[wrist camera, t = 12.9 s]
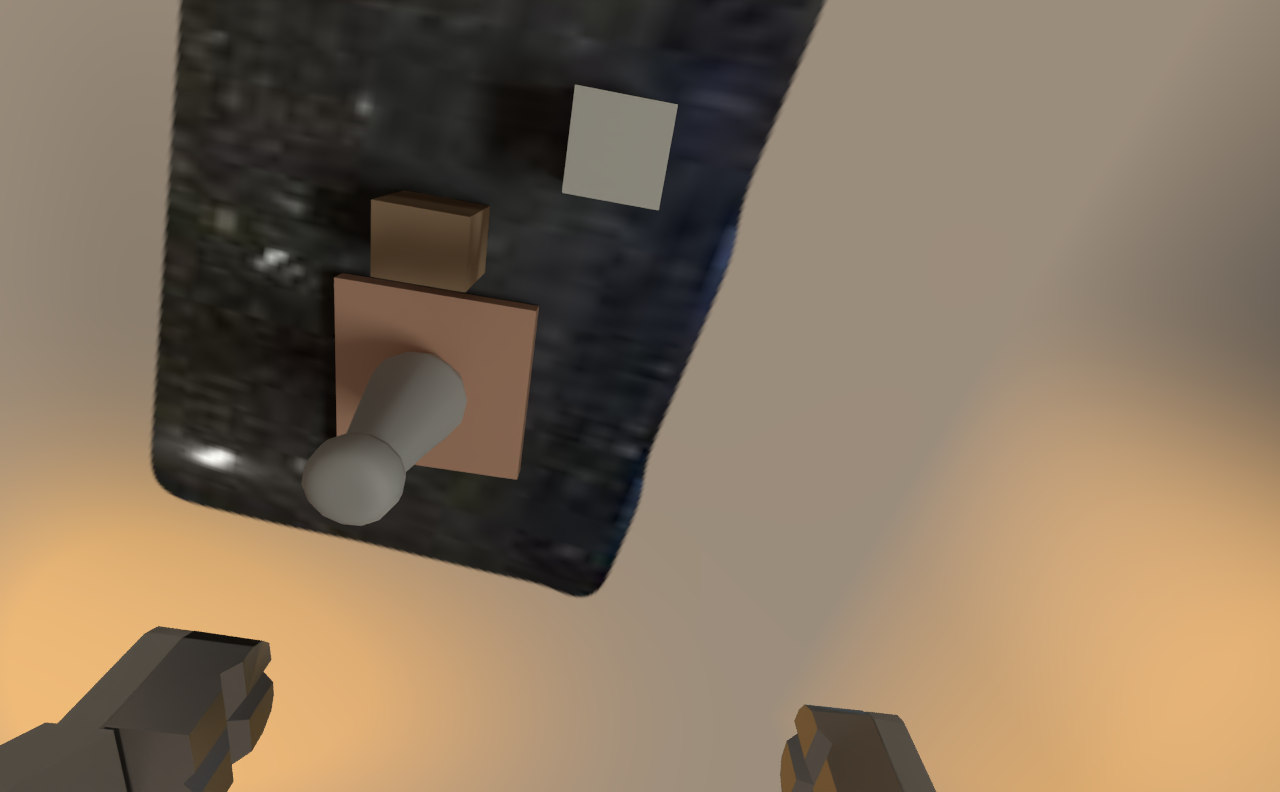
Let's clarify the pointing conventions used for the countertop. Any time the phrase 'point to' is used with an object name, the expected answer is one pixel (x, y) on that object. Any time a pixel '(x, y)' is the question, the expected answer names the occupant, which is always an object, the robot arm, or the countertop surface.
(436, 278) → the walnut block
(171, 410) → the countertop surface
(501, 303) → the terracotta tile
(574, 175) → the pale grey block
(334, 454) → the salt shaker
